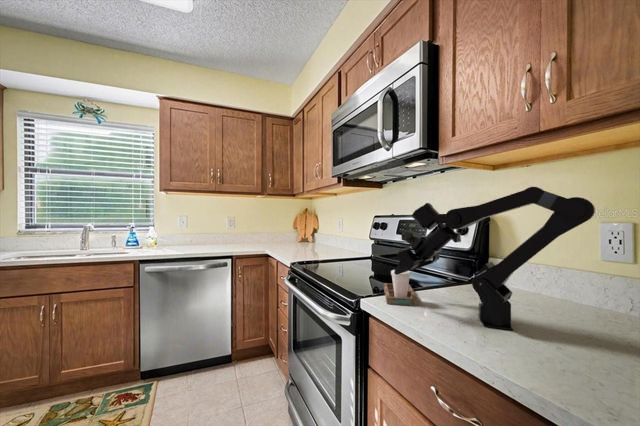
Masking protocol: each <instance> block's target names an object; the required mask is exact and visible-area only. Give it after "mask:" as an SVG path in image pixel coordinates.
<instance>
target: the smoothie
mask: <svg viewBox="0 0 640 426" xmlns="http://www.w3.org/2000/svg"><path fill="white" fill-rule="evenodd" d="M394 271H395V269H392V270H390V275H391V279H392V280H391V281H392V284H393V288H394V296H393V297H401V298H408V297H407V292H408V284H409V282H410V276H411V271H410V270H409V271H406V272H403V273H401V274H398V275H396V274H395V273H394ZM409 285H410V284H409Z"/></svg>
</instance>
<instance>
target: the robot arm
mask: <svg viewBox="0 0 640 426" xmlns="http://www.w3.org/2000/svg"><path fill="white" fill-rule="evenodd" d="M534 204H535V205H537V206H539V207H542V208H544V209H546V210H549V211H552V212H553V213H552V214H551V215H550V216H549V218H548V219H547V220H546V222H545V223H544V224H543V226H542V227H540V228H539V229H538V230H536V231H535V232H534V233H533V234H531V236H529V237H528V238H527V239H526V240H525V241H524V242H522V243H521V244H519V246H517V247H515V249H514V250H513V251H511V252H510V253H509V254H507V256H505V258H503V259H501V261H500V262H498V263H496V264H495V263H493V261H490V262H487V263H485V264H484V265H483V266H482V267H481V268H480V270H478V271H477V272H474V273H473V276H474V277H473V278H472V280H471V286H472V288H473V290H474V292H476V293H477V294H478V297H479V300H480V303H478V320H479V321H480V322H481V324H482V326H483V327H485V328H493V329H499V330H506V331H507V330H508V331H513V330H514V327H513V326H512V303H511V302H510V301H509V300H510V299H511V297H512V295H513V291H512V290H511V289H510V288H508V287H507V285H506V283H507V281H508V280H509V278H510V277H511V276H512V275H513V274H514V272H516V271H517V270H518V269H520V267H522V266H523V265H525V264H526V263H527V262H529V260H531V259H532V258H534V257H535V256H536V255H538V254H539V253H540V252H542V250H544V249H545V248H546V247H547V246H548V245H550V244H551V243H552V242H554V241H555V240H556V239H558V238H559V237H560V236H562V235H564V234H566V233H567V232H569V231H571V230H573V229H575V228H576V227H579V226H581V225H582V224H584V223H586V222H587V221H589V220H591V219H592V218H593V217H594V216H595V214H596V207H595V205H594V203H592V202H591V201H590V200H589V199H586V198H584V197H579V196H575V197H574V196H572V197H564V196H561V195H558V194H555V193H552V192H550V191H546V190H544V189H542V188H540V187H537V186H529V187H527V188H526V189H525V188H524V190H523V189H522V190H521V191H517V192H514V193H511V194H508V195H505V196H502V197H500V198H496V199H493V200H490V201H487V202H484V203H480V204H478V205H473V206H472V205H471V206H466V207H465V206H464V207H458V208H453V209H450V210H447V212H446V213H439V212H438V210H436V209H435V207H434V206H433V205H432V204H431V203H430V202H426V203H425V204H424V205H421V206H420V207H418V208H417V209H415V210H414V211H413V212H412V214H411V218H412V219H413V220H414V221H415V222H416V223H418V225H419V226H420V227H421V228H422V230H424V231H425V230H428V231H429V233H427V235H425V236H423V235H421V234H420V233H417V232H416V231H414V230H412V229H405V230H404V231H403V232H402V233H401V234H400V236H401V241H404V242H406V243H407V244H410V245H411V246H410V248H401V249H399V250H397V253H396V255H397V258H398V259H399V261H398V264H397V266H396V267H395V269H394V270H395V271H394V273H395V274H396V275H398V274H401V273H403V272H406V271H410V272H411V271H415V270H417V269H420V268H423V267H425V266H428V265H433V264H434V263H437V261H439V260H440V254H439V253H440V252H441V251H443V248H444V247H446V245H447V244H448V243H450V241H453V242H454V243H461V241H462V238H461V235H462V233H461V232H456V231H455V230H460V229H462V230H463V229H467V228H468V227H471V226H473V225H475V224H477V223H479V222H481V221H483V220H484V219H486V218H490V217H494V216H496V215H499V214H503V213H506V212H507V213H508V212H509V211H513V210H517V209H520V208H524V207H526V206H530V205H534ZM411 249H412V250H414V252H413V251H412V250H411Z"/></svg>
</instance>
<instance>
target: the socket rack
mask: <svg viewBox="0 0 640 426" xmlns="http://www.w3.org/2000/svg"><path fill="white" fill-rule="evenodd" d="M383 291H384V296H385V302H386V305H402V306H416V307H417V306H419V299H418V297H417V295H416V292H415V291H414V289H413V288H412V286H411V284H408V292H407V298H401V297H395V296H394V288H393V283H387V282H385V283H383Z"/></svg>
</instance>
